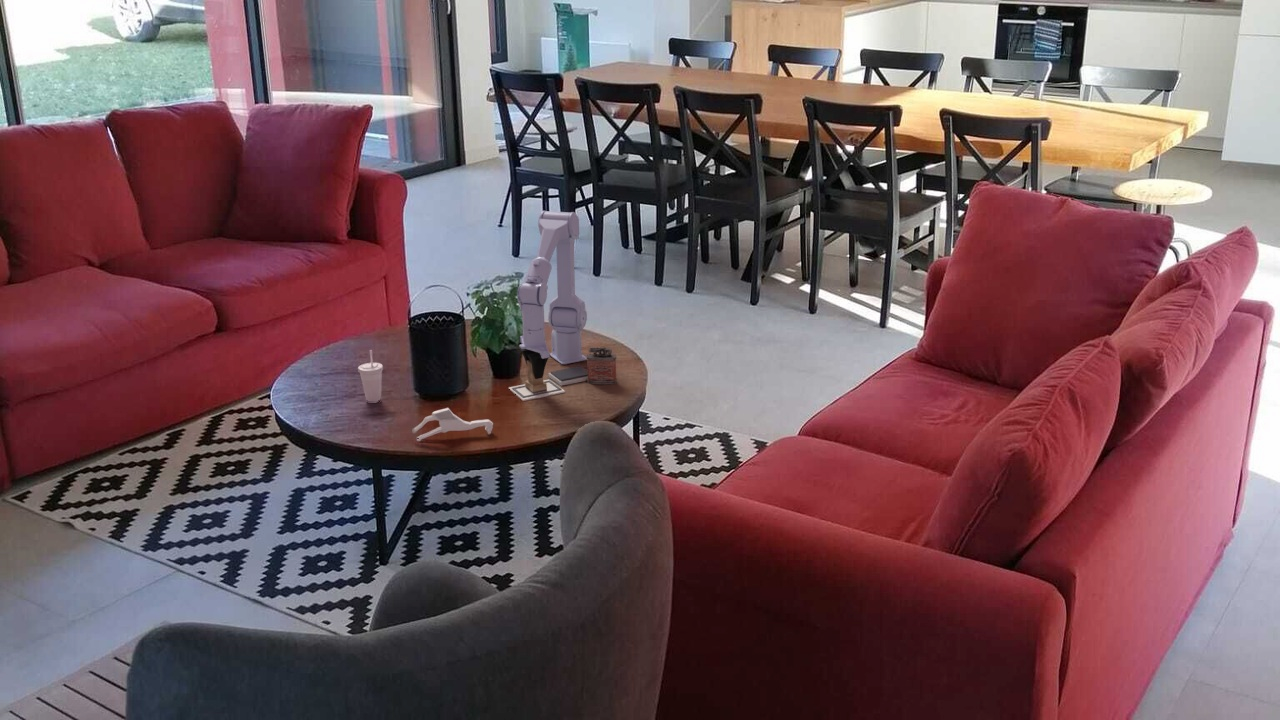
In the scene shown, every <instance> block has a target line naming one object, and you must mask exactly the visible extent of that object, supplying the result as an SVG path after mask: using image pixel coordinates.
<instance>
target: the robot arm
mask: <svg viewBox="0 0 1280 720" xmlns="http://www.w3.org/2000/svg"><path fill="white" fill-rule="evenodd" d="M537 225H538V231H539V234H540V240H539V244H538V245H539V246H538V249H537V255H536V258H533V259H532V260H531V261H530V263H529V266H528V269H527V273H526V276H525V280H524V282H523V283H521V284H520V285H519V286H518V289H517V295H516V297H517V302H518V305H519V310H520V312H521V317H522V319H521V320H522V335H520V336H519V337H520V343H521V344H519V351H520V353H521V355H522V356H523V358H524V361H525V365H527V361H528V360H530V361H531V364H532V368H533V374H534V377H535V379H539V378H543V379H544V374H545V368H546V364H547V363H548V360H549V358H550V357H551V358H552V359H554V360H555V361H556V362H557V363H560V364H561V365H568V364H574V363H578V362H582V361H583V362H585V361H587V356H585V355H584V354H582V353H583V351H582V330H584V328H585V327H586V324H587V320H588V313H587V309H586V303H585V301H584V300H583V299H582V298H580V297H579V296H577V295H576V282H575V281H576V278H575V277H576V276H575V274H576V273H575V240H577V239H579V237H580V219H579V216H578V215H577V213H576V212H575V211H571V212H566V211H550V210H548V211H547V210H542V211H541V212H540V213H539V216H538V223H537ZM555 250H556V251H555ZM554 252H556V278H557V279H556V280H557V281H556V283H557V286H556V287H557V296H556V297H554V298H553V299H552V300H551V301H550V303H549V309H548V310H549V311H548V315H547V317H548V319H547V320H548V324H549V326H550V327H552V330H551V335H550V336H551V337H550V338H551V341H550V342H551V352H550V350H549V349H548V345H547V342H546V330H545V329H546V327H545V326H546V324H545V304H546V301H547V298H548V289H549V288H548V287H549V286H548V283H549V279H550V275H551V272H552V269H553V267H552V265H551V259H552V257H553V254H554Z"/></svg>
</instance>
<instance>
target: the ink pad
mask: <svg viewBox="0 0 1280 720" xmlns="http://www.w3.org/2000/svg"><path fill="white" fill-rule="evenodd" d="M547 374H548V376H547V377H548V378H549V379H550V380H551V381H553V382H554V383H555V384H557V385H558V386H559V387H562V386H566V385H572V384H576V383H581V382H585V381H586V382H587V378H588V369H585V368H584V367H583V366H581V365H578V366H572V367H569V368H564V369H562V368H561V369H558V370H553V371H550V372H548V373H547Z"/></svg>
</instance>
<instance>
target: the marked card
mask: <svg viewBox="0 0 1280 720" xmlns="http://www.w3.org/2000/svg"><path fill="white" fill-rule="evenodd" d="M543 381H544V382H545V383H546V384H547V391H544V392H539V393H535V394H533V393H531V392H530V391H529V390H528V389H526V385H525V383H524V384H520V385H514V386H508V390H509V389H510V390H509V391H511V392H512V394H514V395H515V394H516V395H515V396H517V398H519V399H520V400H522V401H523V402H525V401H530V400H535V399H536V400H537V399H541V398H544V397H551V396H555V395H559V394H565V393H566V390H564V388H561V386H560V385H559V384H557V383H556V382H555V381H553V380H552V379H551V378H549V379H543Z"/></svg>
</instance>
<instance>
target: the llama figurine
mask: <svg viewBox="0 0 1280 720" xmlns="http://www.w3.org/2000/svg"><path fill="white" fill-rule="evenodd" d="M430 421H431V422H432V421H438V423H439V424H438V425H439V426H438V427H435V429H432V430H430V431H428V432H425V433H423V434H420V435H419V436H418V435H417V436H416V441H417V442H421V440H424V439H426V438H428V437H431V436H434V435H436V434H439V433H444V434H446V433H447V432H450V431H452V432H453V431H454V432H455V431H458V432H459V431H461V432H463V431H468V430H473V429H475V428H478V427H479V428H480V427H484V429H485V431H486V432H487V435H491V434H492V430H493V426H494V422H493V421H491V420H490V419H477V420H471V421H466V420H464V419H462V418H460V417H459V416H457V415H456V414H454V413H453V412H452V410H451V409H450V408H449V407H446V408H442V409H438V410H435V411H433V412H432V413H431V415H428V416H425V417H424V418H423V420H422V421H421V422H420V423H419V424H418V425H416V426H415V427H412V428H411V430H412V431H411V432H412V433H413V434H417V432H418V431H419V430H420V429H421V428H423V427H424V426H425V424H426V423H428V422H430ZM417 438H419V439H417Z"/></svg>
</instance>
